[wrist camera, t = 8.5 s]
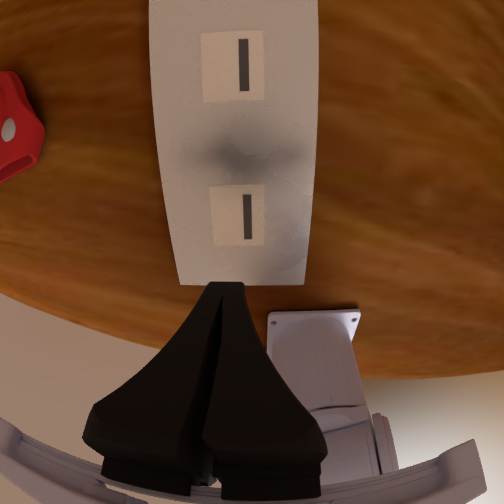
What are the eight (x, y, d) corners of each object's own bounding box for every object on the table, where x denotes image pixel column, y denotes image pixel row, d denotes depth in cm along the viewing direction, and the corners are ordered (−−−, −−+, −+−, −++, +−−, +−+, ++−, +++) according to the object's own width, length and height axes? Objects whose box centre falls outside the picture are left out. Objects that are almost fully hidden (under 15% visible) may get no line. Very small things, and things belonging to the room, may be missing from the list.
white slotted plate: (302, 276, 21) (304, 287, 20) (183, 276, 21) (179, 287, 20) (313, -14, 10) (317, -20, 9) (154, -5, 10) (147, -10, 9)
